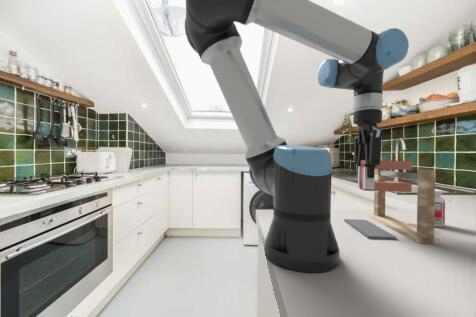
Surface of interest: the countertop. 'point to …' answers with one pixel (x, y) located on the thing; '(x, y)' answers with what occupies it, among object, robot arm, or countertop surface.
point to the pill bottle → (439, 209)
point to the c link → (388, 185)
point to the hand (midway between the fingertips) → (365, 188)
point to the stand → (424, 206)
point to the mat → (369, 229)
